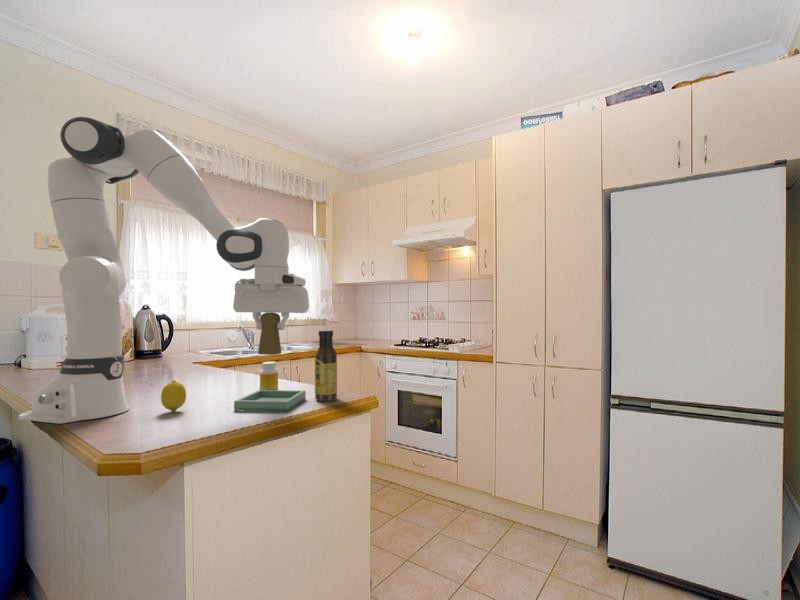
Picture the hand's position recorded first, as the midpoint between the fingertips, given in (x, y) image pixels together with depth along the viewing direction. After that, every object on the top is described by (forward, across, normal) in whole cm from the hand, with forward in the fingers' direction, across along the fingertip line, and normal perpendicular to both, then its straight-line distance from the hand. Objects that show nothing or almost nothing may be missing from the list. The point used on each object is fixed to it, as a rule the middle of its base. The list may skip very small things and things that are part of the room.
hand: (270, 329), depth 109 cm
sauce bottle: (+20, +14, +7) cm, 26 cm away
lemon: (+21, -21, -9) cm, 31 cm away
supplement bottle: (+21, -6, +14) cm, 26 cm away
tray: (+20, +1, 0) cm, 20 cm away
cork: (+7, 0, 0) cm, 7 cm away
